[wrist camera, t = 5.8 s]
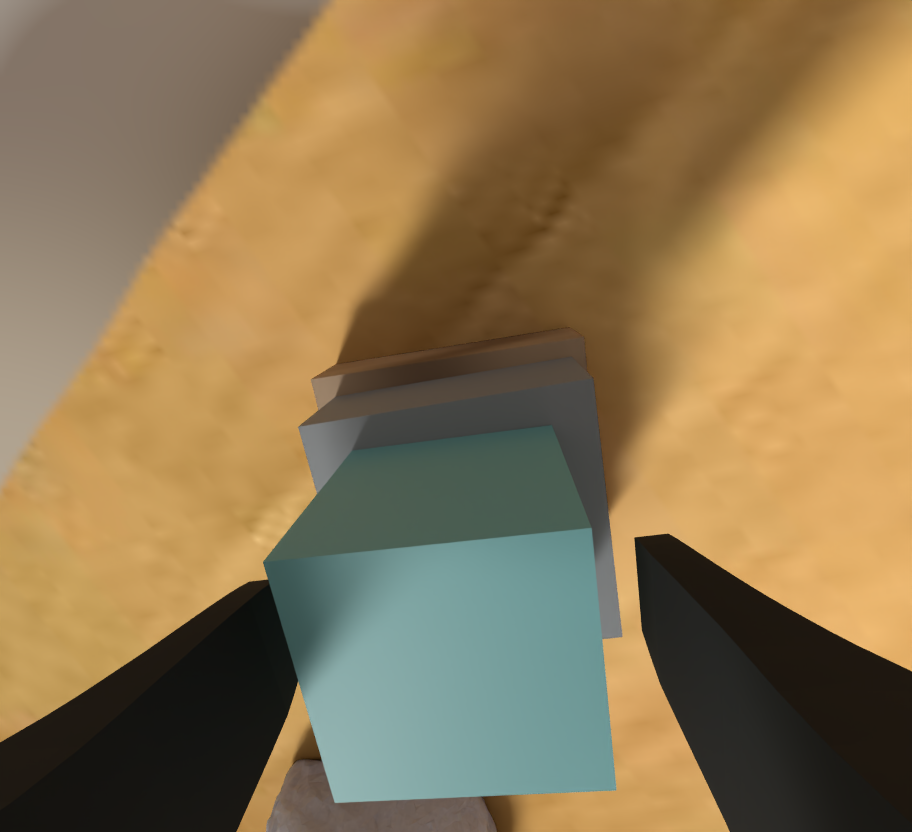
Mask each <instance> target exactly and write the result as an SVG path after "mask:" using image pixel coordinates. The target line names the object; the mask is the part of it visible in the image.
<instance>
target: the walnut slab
mask: <svg viewBox="0 0 912 832" xmlns="http://www.w3.org/2000/svg"><path fill="white" fill-rule="evenodd" d="M566 357H573V358H574V359H575V360H576V361H577V362H578V363H579V364H580V365H581V366H582V367H583V368H584V369H585V370H586V371H587V363H586V353H585V342H584V337H583V336H582V335H580V334H579V333H577V332H576V331H575V330H573V329H572V328H570V327H568V328H562V329H555V330H549V331H543V332H536V333H530V334H524V335H517V336H511V337H505V338H499V339H492V340H486V341H480V342H473V343H467V344H461V345H454V346H448V347H442V348H435V349H429V350H423V351H416V352H410V353H404V354H397V355H391V356H385V357H378V358H372V359H366V360H359V361H353V362H347V363H340V364H336V365H334V366H332V367H331V368H329V369H327V370H326V371H324V372H322V373H321V374H319V375H317V376H316V377H314V378H312V379H311V382H312V386H313V390H314V394H315V398H316V402H317V406H318V410H320V409H321V408H322V407H323V406H325V405H326V404H327V403H328V402H330V401H331V400H332V399H333V398H334V397H337V396H342V395H348V394H354V393H360V392H366V391H372V390H378V389H383V388H389V387H395V386H401V385H407V384H413V383H419V382H425V381H430V380H436V379H442V378H448V377H454V376H460V375H466V374H472V373H478V372H483V371H489V370H495V369H501V368H507V367H513V366H519V365H525V364H531V363H536V362H542V361H548V360H554V359H560V358H566Z"/></svg>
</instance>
